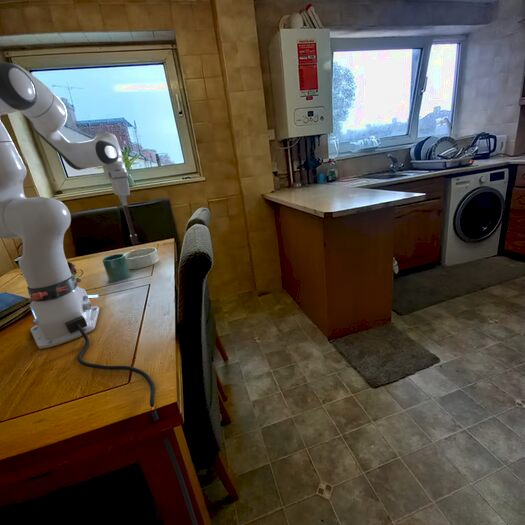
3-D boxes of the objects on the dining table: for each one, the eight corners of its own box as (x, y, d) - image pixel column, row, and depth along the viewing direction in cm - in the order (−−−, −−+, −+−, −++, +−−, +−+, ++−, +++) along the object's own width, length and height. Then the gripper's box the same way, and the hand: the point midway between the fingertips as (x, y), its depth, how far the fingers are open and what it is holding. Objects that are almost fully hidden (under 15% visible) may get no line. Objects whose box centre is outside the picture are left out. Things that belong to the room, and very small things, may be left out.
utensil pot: (132, 278, 119) (126, 256, 116) (110, 284, 115) (103, 262, 112) (128, 273, 126) (122, 252, 123) (108, 279, 122) (101, 257, 118)
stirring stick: (138, 243, 132) (126, 196, 124) (133, 244, 131) (119, 197, 123) (137, 242, 134) (125, 196, 126) (131, 243, 133) (118, 197, 125)
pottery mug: (84, 271, 137) (78, 260, 131) (74, 287, 130) (67, 276, 124) (58, 268, 136) (51, 257, 130) (47, 284, 129) (39, 272, 123)
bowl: (163, 263, 134) (160, 251, 132) (128, 273, 126) (124, 261, 124) (154, 256, 147) (151, 245, 145) (122, 265, 138) (118, 253, 136)
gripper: (105, 175, 128) (113, 205, 133) (111, 173, 112) (121, 208, 116) (119, 173, 131) (127, 203, 136) (128, 171, 115) (136, 205, 120)
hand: (124, 205), depth 126 cm, fingers closed on stirring stick, 2 cm apart
